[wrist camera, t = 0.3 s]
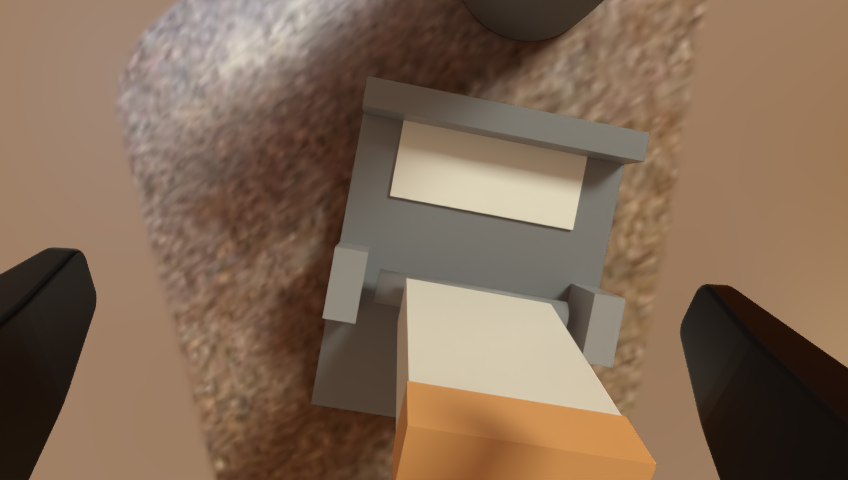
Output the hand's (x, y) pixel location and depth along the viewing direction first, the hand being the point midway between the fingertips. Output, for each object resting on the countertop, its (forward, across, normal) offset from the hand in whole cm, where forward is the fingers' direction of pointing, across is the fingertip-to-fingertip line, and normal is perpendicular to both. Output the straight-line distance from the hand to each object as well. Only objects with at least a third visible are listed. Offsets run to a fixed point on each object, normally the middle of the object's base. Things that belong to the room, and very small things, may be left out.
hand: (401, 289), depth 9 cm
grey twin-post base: (+11, -3, +10) cm, 16 cm away
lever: (+9, -3, +9) cm, 13 cm away
